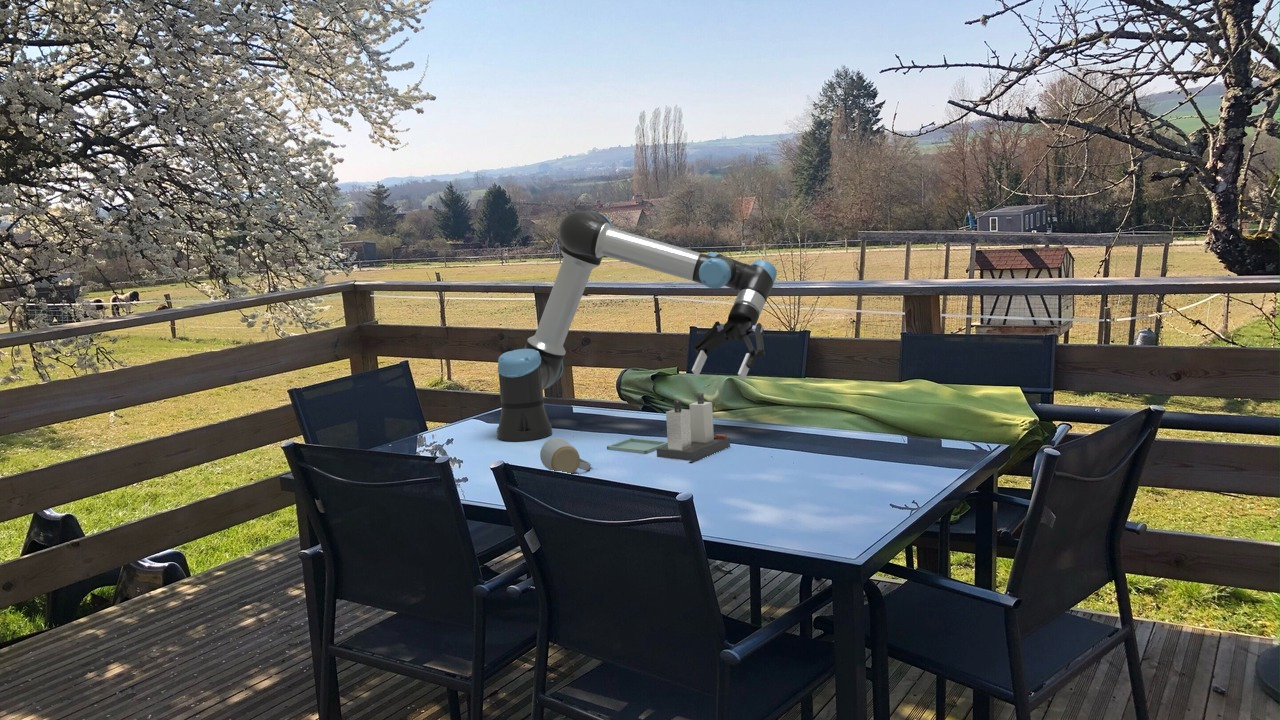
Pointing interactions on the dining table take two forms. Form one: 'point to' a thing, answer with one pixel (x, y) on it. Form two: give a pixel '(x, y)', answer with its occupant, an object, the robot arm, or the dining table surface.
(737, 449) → the dining table surface
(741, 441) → the dining table surface
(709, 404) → the ivory plug
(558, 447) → the ceramic mug
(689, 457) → the pdu strip
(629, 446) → the tray
